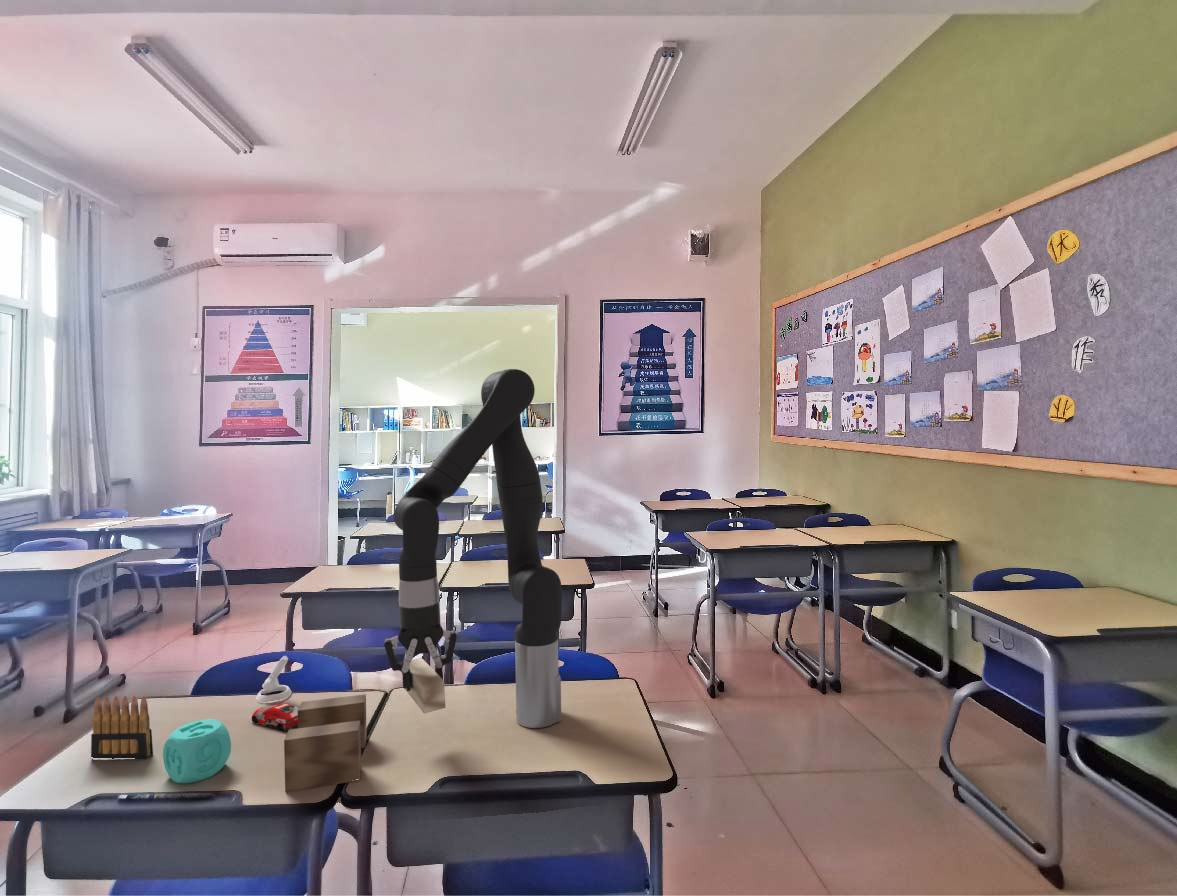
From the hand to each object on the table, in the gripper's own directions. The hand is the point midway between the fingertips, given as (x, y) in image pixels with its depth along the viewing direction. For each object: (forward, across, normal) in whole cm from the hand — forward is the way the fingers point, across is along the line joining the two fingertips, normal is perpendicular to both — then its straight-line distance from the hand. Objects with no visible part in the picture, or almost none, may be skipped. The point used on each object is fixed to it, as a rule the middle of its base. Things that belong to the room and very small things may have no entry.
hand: (423, 687), depth 118 cm
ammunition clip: (+12, +57, -15) cm, 60 cm away
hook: (+12, +35, -37) cm, 52 cm away
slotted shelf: (+12, +18, -1) cm, 21 cm away
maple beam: (+2, 0, 0) cm, 2 cm away
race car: (+13, +30, -22) cm, 40 cm away
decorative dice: (+12, +41, -5) cm, 43 cm away
